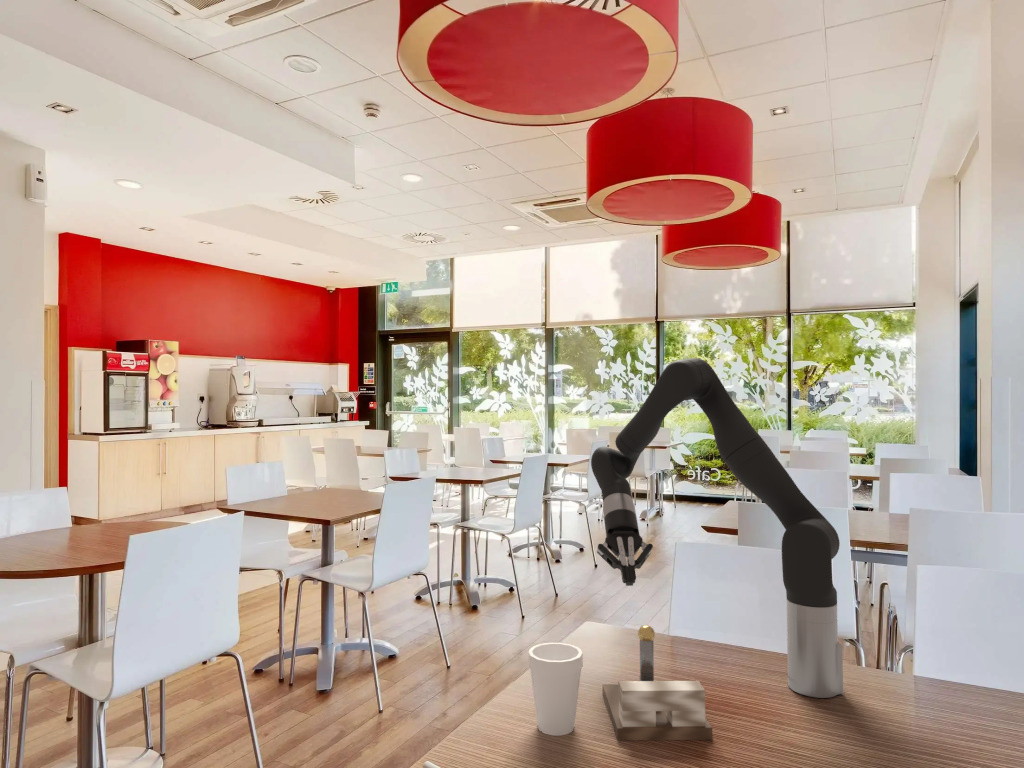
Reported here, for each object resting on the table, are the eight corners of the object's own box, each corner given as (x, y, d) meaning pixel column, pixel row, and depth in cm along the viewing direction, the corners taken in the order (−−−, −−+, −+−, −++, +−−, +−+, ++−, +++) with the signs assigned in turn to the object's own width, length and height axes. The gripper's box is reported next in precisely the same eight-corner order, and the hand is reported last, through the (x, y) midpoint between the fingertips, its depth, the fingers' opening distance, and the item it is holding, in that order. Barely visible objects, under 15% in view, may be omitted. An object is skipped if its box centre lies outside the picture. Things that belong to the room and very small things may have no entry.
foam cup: (582, 716, 123) (582, 643, 124) (583, 741, 114) (582, 662, 114) (530, 713, 124) (530, 642, 125) (526, 738, 115) (526, 660, 115)
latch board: (684, 694, 132) (684, 652, 133) (712, 739, 114) (711, 691, 115) (602, 694, 132) (602, 653, 132) (617, 740, 114) (616, 692, 114)
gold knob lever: (653, 685, 131) (652, 622, 131) (664, 706, 122) (663, 638, 122) (636, 685, 131) (636, 622, 131) (646, 706, 122) (645, 638, 122)
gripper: (593, 507, 157) (600, 574, 144) (650, 507, 157) (663, 574, 144) (590, 526, 162) (597, 593, 149) (646, 526, 162) (658, 592, 149)
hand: (630, 583), depth 147 cm, fingers closed
